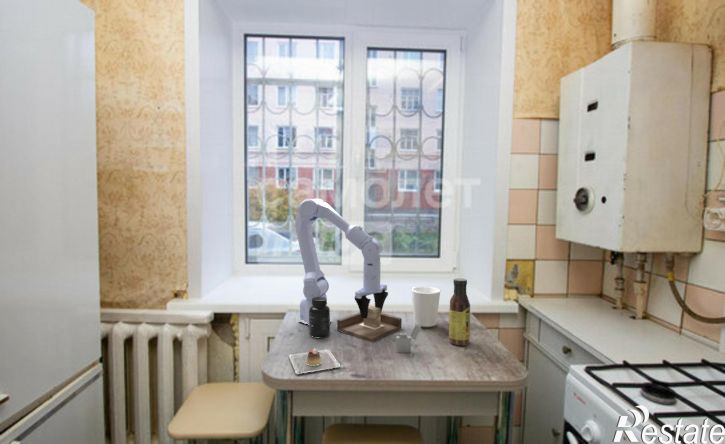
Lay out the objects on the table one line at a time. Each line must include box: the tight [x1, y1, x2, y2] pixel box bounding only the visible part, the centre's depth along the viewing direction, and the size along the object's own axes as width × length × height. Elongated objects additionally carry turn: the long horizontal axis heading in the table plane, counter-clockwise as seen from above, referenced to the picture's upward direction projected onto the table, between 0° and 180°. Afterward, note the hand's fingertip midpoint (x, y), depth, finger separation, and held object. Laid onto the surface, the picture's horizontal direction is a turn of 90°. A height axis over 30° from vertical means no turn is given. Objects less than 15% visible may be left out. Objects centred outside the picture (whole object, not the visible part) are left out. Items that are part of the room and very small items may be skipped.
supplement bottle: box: [308, 297, 331, 338], centre depth 125 cm, size 7×7×12 cm
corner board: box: [336, 311, 403, 343], centre depth 130 cm, size 15×16×4 cm
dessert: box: [288, 347, 342, 375], centre depth 105 cm, size 12×12×5 cm
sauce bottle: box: [448, 277, 471, 347], centre depth 118 cm, size 6×6×20 cm
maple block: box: [364, 304, 382, 328], centre depth 130 cm, size 3×5×6 cm, turn 48°
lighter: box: [395, 324, 422, 354], centre depth 112 cm, size 7×2×8 cm, turn 91°
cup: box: [411, 285, 441, 330], centre depth 134 cm, size 10×10×13 cm
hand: (371, 314), depth 131 cm, fingers open, 7 cm apart
